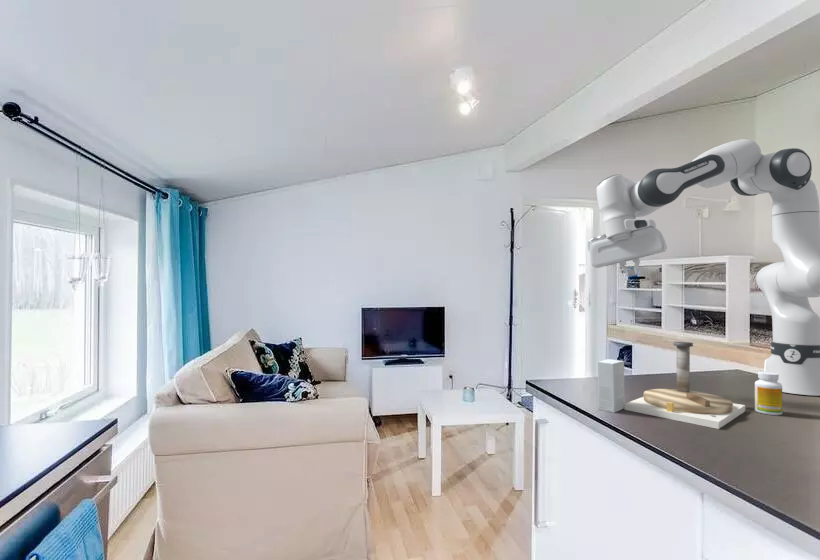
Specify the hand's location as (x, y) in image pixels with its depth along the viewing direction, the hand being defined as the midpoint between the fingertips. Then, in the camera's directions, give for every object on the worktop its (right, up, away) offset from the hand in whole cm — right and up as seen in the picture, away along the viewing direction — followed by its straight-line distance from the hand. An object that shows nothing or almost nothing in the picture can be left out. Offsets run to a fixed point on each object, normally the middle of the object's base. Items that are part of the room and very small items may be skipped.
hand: (632, 275), depth 132 cm
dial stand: (+4, -34, -18) cm, 39 cm away
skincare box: (-14, -34, -18) cm, 41 cm away
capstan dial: (+5, -32, -18) cm, 37 cm away
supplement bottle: (+24, -34, -19) cm, 46 cm away
